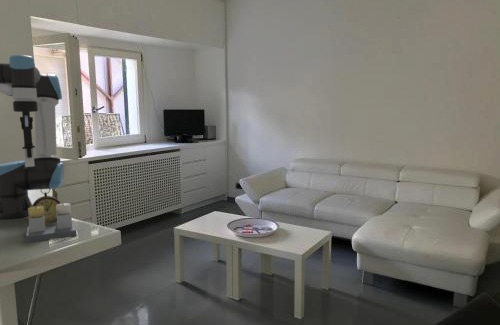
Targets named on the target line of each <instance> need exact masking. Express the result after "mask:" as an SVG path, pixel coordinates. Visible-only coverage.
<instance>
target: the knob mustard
mask: <svg viewBox="0 0 500 325" xmlns="http://www.w3.org/2000/svg"><path fill="white" fill-rule="evenodd" d="M28 213H29V215H28V218H29V217H34V218H38V217H40V216H43V215H44V206H33V207H29V208H28Z"/></svg>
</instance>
